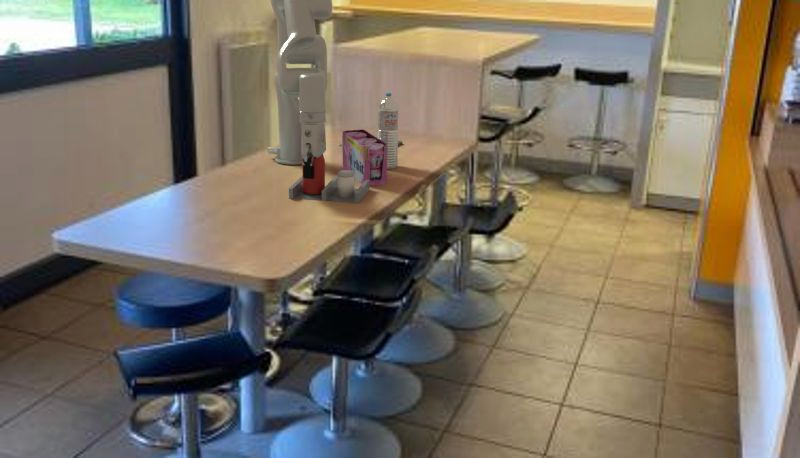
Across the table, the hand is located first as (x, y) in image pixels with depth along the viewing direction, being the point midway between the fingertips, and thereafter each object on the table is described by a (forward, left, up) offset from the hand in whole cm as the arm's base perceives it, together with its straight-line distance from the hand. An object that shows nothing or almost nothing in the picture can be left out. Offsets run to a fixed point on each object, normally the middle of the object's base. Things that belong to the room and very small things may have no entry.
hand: (313, 173), depth 239 cm
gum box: (+10, +22, -7) cm, 25 cm away
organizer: (+5, 0, -7) cm, 8 cm away
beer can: (0, 0, -6) cm, 6 cm away
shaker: (+10, 0, -6) cm, 11 cm away
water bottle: (+15, +38, -7) cm, 41 cm away
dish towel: (+3, +67, -8) cm, 67 cm away
